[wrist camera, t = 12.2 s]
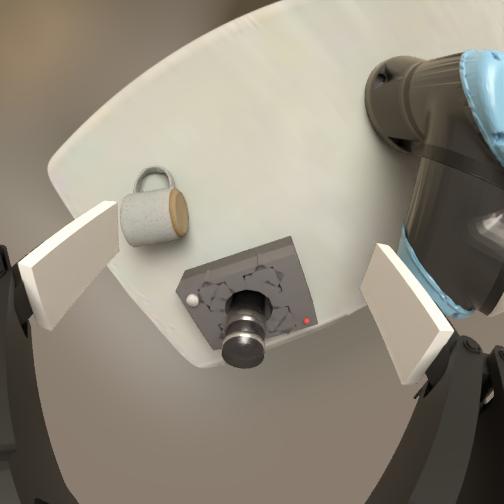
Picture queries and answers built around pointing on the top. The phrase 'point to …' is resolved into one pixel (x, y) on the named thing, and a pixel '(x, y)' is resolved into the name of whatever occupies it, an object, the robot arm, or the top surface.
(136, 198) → the ceramic mug
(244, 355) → the lens
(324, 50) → the top surface
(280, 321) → the box with round hole
